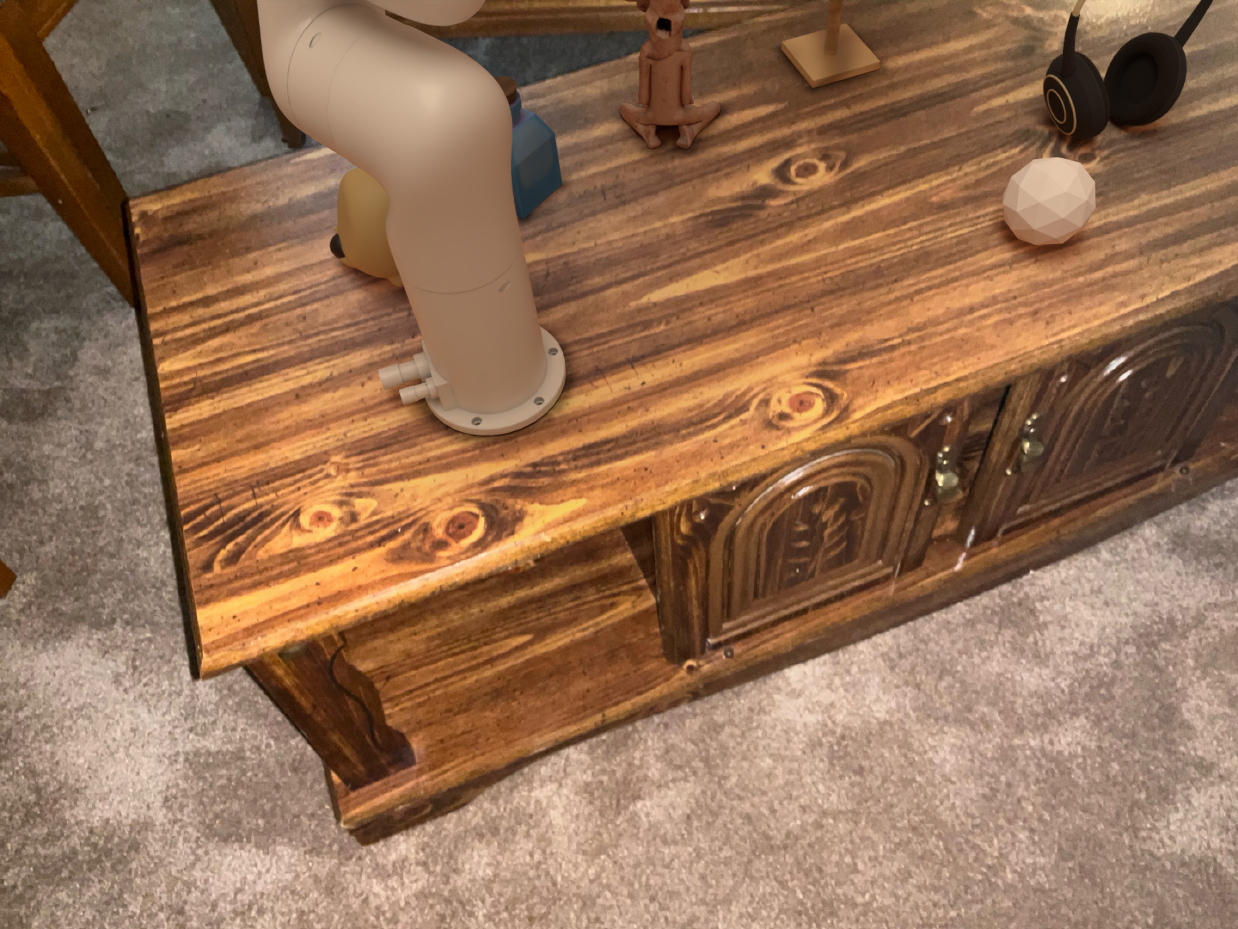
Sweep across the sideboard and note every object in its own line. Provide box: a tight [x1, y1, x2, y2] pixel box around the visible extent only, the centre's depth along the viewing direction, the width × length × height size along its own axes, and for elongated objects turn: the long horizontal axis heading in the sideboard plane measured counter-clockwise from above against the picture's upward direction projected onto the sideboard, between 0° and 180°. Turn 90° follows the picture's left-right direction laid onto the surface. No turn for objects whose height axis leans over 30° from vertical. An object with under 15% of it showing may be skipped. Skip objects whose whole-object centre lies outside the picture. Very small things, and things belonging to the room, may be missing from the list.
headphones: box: [1042, 0, 1214, 141], centre depth 89 cm, size 9×15×20 cm, turn 105°
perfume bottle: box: [493, 75, 563, 220], centre depth 93 cm, size 6×6×12 cm
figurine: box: [619, 0, 721, 150], centre depth 94 cm, size 10×8×20 cm
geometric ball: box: [1002, 156, 1097, 246], centre depth 86 cm, size 8×8×8 cm
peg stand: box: [780, 0, 881, 89], centre depth 102 cm, size 8×8×11 cm
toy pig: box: [329, 166, 404, 288], centre depth 90 cm, size 10×12×11 cm
